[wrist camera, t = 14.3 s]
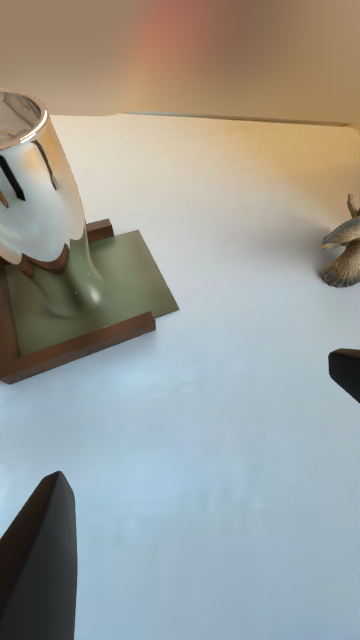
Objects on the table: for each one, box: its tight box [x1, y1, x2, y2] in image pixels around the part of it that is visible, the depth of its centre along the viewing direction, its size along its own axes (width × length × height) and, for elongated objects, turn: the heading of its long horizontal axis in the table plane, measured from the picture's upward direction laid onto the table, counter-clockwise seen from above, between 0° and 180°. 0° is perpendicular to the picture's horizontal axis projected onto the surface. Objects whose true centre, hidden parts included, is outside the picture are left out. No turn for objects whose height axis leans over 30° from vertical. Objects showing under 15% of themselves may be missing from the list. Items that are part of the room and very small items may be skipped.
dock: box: [0, 219, 179, 384], centre depth 25 cm, size 16×14×2 cm
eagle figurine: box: [321, 193, 360, 287], centre depth 27 cm, size 8×7×9 cm
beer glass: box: [0, 87, 105, 318], centre depth 18 cm, size 7×7×15 cm
